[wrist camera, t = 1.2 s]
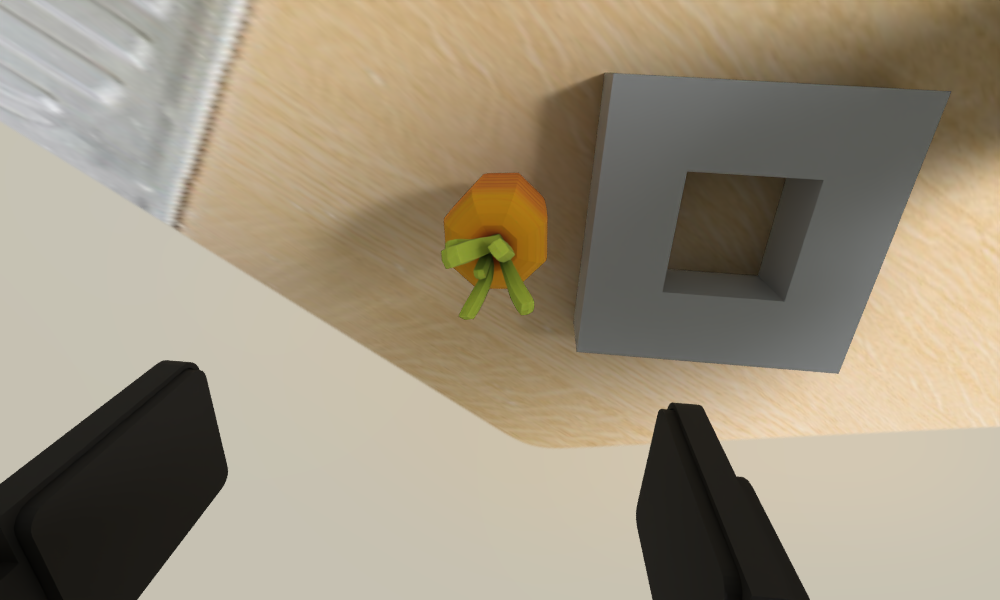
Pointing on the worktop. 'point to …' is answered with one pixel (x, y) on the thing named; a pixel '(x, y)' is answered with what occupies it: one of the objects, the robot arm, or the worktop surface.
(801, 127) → the socket block
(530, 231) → the carrot
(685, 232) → the worktop surface
